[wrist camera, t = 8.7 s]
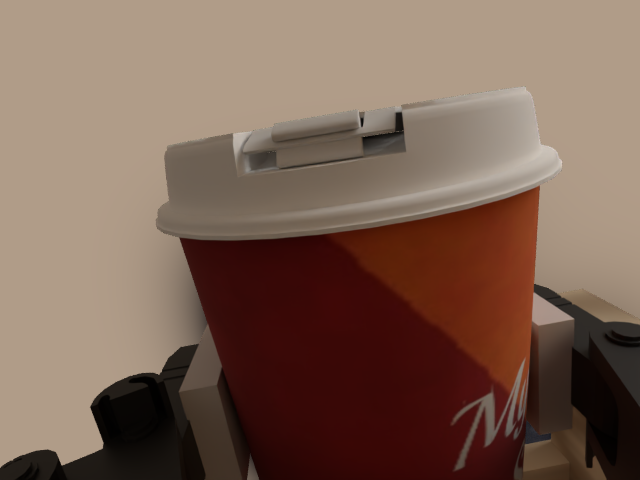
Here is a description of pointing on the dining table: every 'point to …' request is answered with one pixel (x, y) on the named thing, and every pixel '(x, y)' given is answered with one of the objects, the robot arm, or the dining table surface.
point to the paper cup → (371, 284)
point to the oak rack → (569, 445)
